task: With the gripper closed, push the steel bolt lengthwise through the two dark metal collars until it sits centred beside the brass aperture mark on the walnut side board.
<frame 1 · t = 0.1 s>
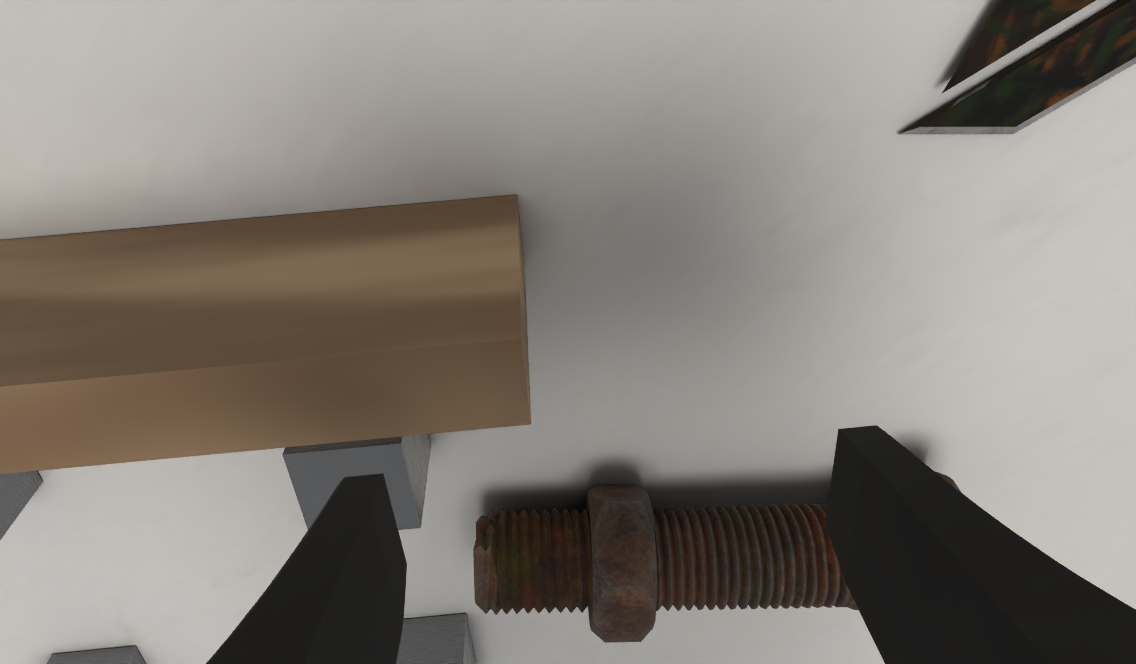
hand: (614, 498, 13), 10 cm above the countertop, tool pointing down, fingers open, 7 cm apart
collars: (227, 557, 27), on the countertop
bolt: (697, 498, 27), on the countertop
aperture board: (103, 267, 21), on the countertop
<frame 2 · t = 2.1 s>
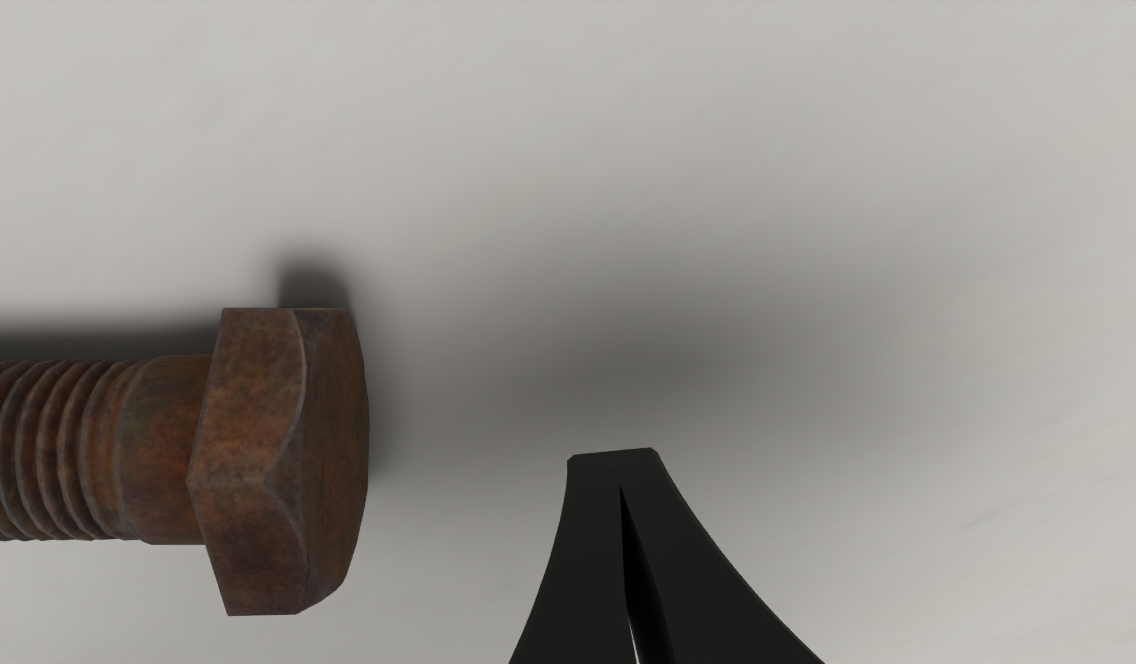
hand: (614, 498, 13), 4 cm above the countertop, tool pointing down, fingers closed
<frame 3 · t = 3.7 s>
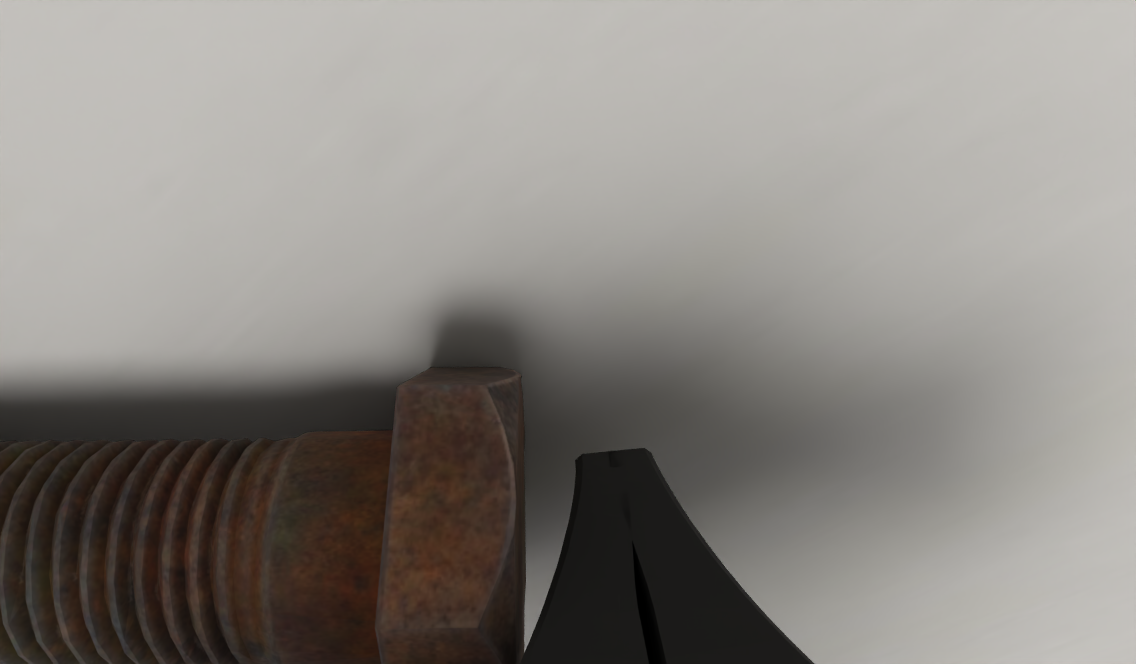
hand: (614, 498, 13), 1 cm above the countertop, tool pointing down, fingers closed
bolt: (78, 434, 13), on the countertop, touching gripper
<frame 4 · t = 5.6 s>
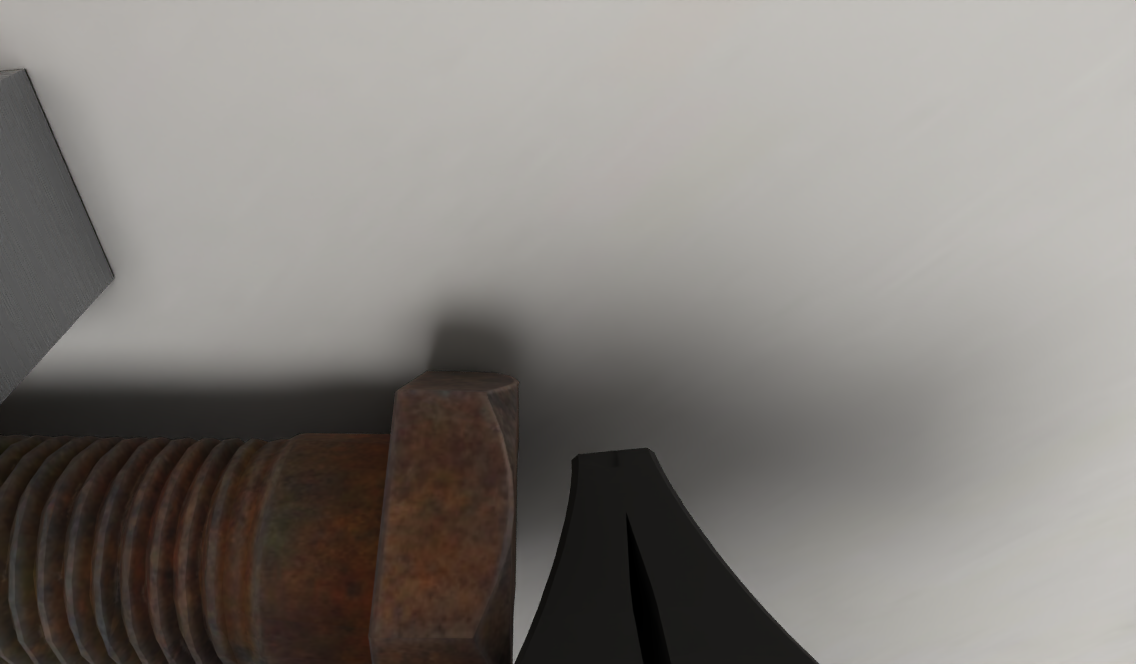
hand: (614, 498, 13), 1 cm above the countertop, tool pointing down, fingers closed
bolt: (64, 429, 13), on the countertop, touching gripper
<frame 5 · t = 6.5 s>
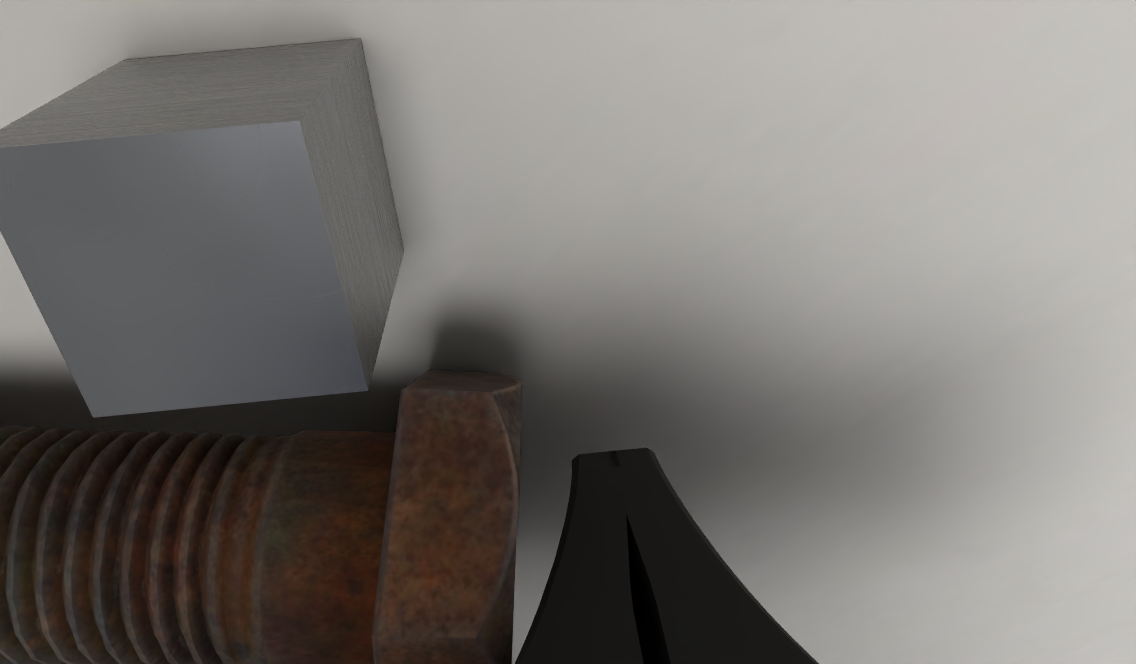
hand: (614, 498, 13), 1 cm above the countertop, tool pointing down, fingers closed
collars: (11, 500, 14), on the countertop
bolt: (61, 421, 13), on the countertop, touching gripper
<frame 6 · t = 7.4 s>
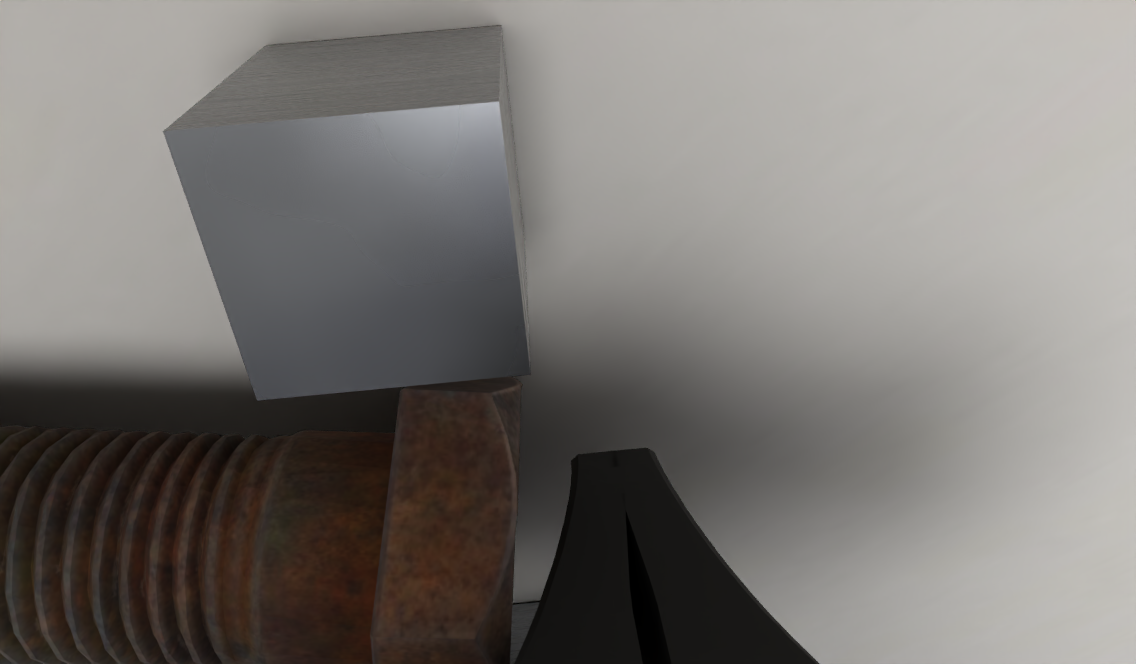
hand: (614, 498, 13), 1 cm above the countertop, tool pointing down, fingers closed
collars: (114, 489, 14), on the countertop
bolt: (61, 420, 13), on the countertop, touching gripper
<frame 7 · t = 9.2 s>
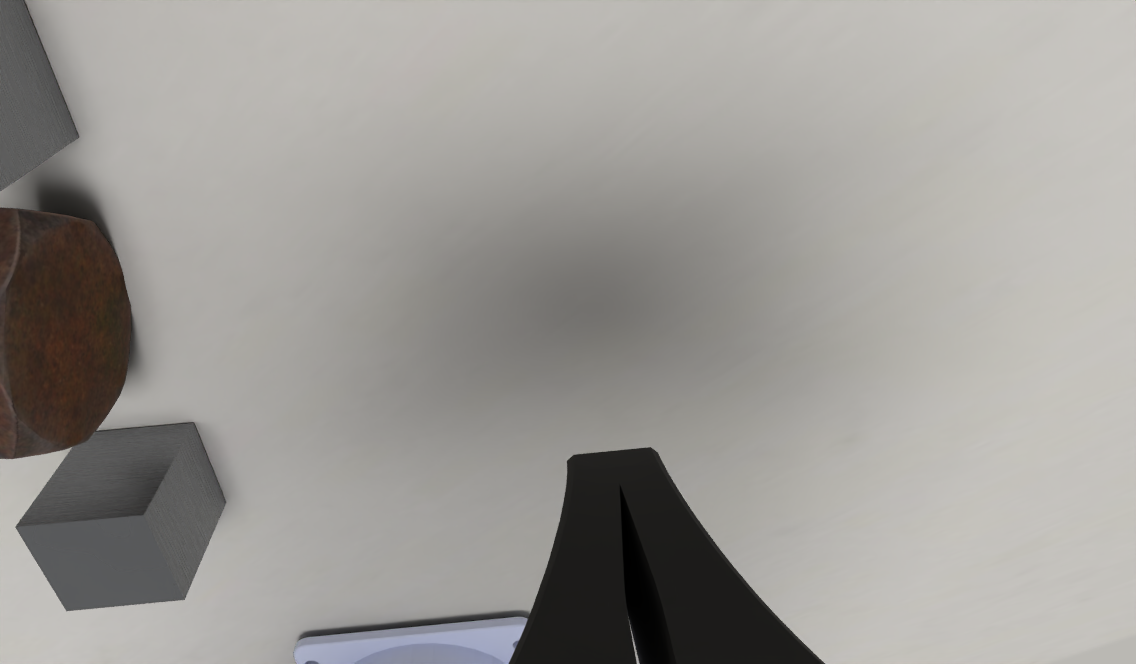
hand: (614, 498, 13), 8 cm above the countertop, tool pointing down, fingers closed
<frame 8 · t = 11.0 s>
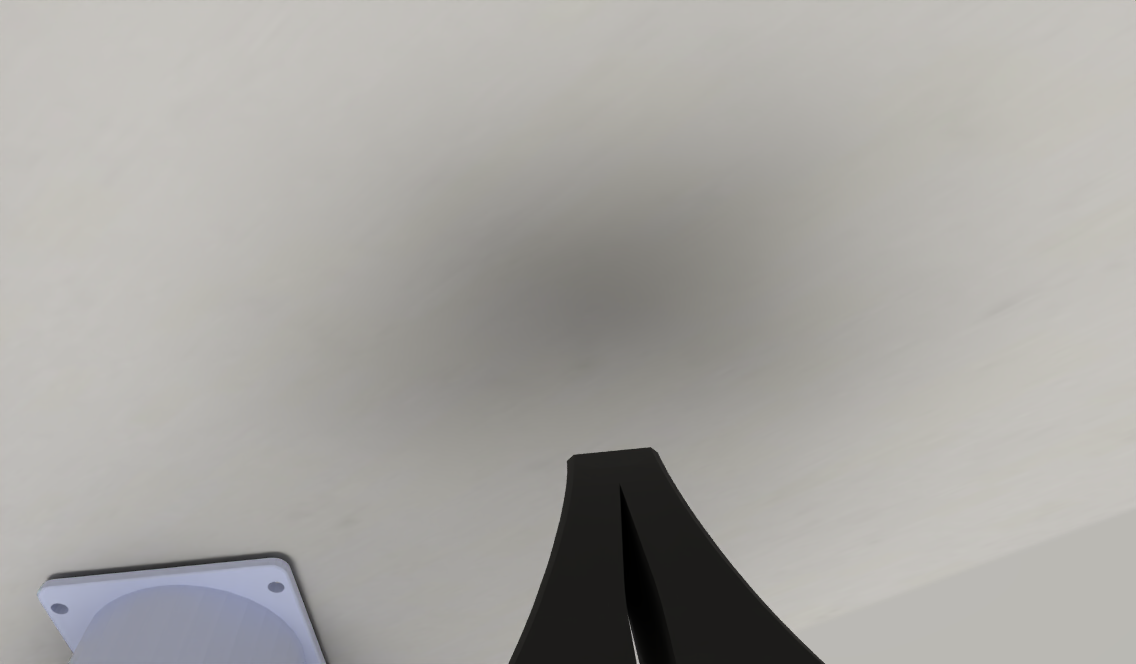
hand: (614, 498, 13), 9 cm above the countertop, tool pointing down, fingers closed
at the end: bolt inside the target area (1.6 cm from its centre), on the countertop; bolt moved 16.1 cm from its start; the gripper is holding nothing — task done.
